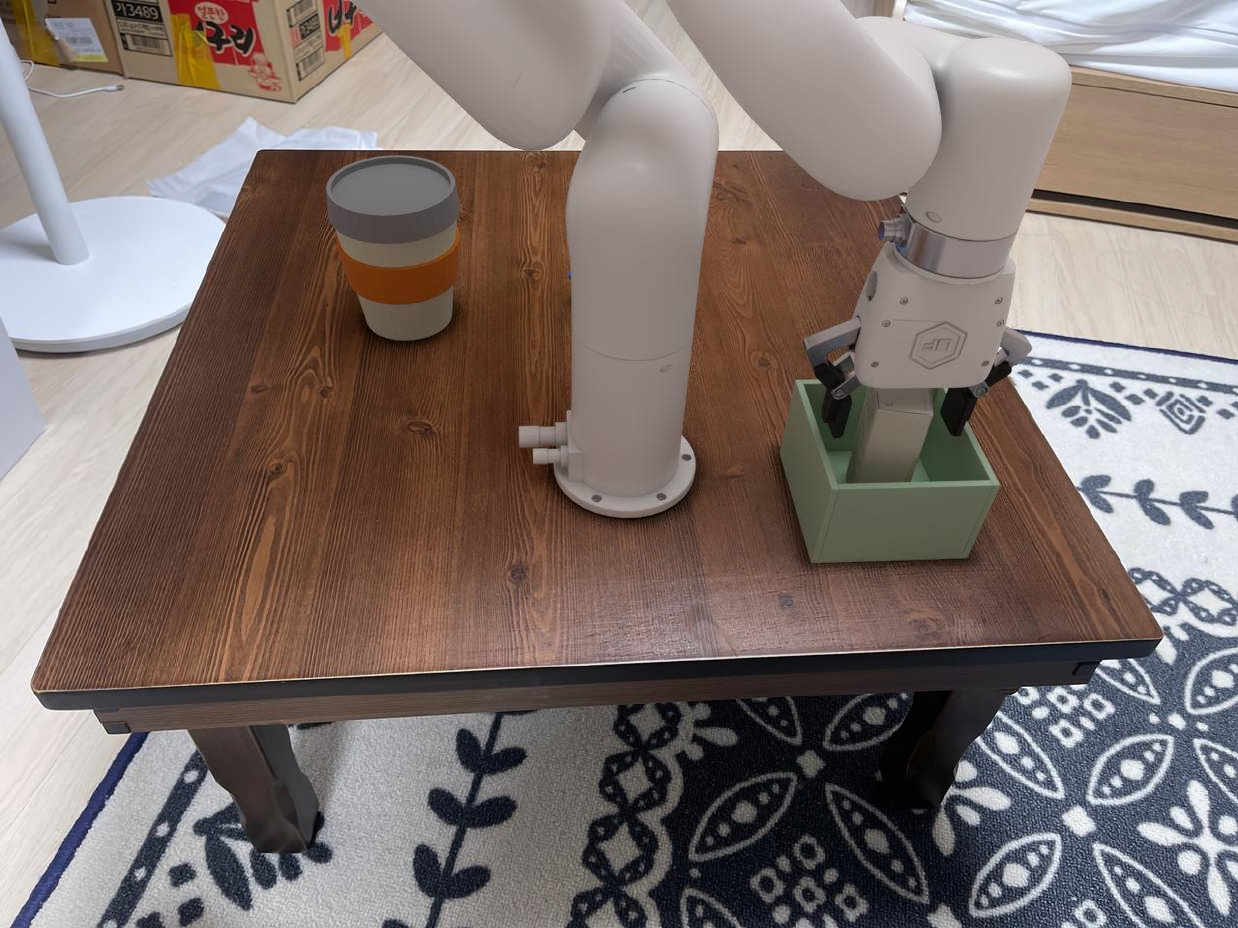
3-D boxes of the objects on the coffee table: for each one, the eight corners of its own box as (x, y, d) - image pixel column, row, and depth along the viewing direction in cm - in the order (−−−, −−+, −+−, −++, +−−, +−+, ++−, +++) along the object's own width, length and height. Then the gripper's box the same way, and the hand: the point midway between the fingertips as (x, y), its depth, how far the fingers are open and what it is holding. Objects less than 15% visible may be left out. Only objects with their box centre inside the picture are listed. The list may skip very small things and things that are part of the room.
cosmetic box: (897, 527, 79) (936, 418, 70) (844, 519, 79) (876, 410, 71) (893, 476, 83) (930, 367, 75) (843, 469, 83) (874, 360, 75)
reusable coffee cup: (324, 314, 98) (296, 182, 88) (419, 270, 105) (403, 142, 95) (398, 367, 92) (377, 232, 82) (493, 316, 99) (485, 186, 89)
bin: (810, 563, 76) (831, 489, 70) (779, 453, 86) (795, 379, 80) (967, 558, 77) (1000, 485, 71) (918, 450, 87) (944, 377, 81)
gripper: (842, 267, 60) (795, 460, 72) (1099, 267, 61) (1011, 456, 73) (816, 209, 65) (777, 397, 77) (1053, 210, 67) (978, 395, 79)
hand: (891, 426), depth 75 cm, fingers open, 9 cm apart
